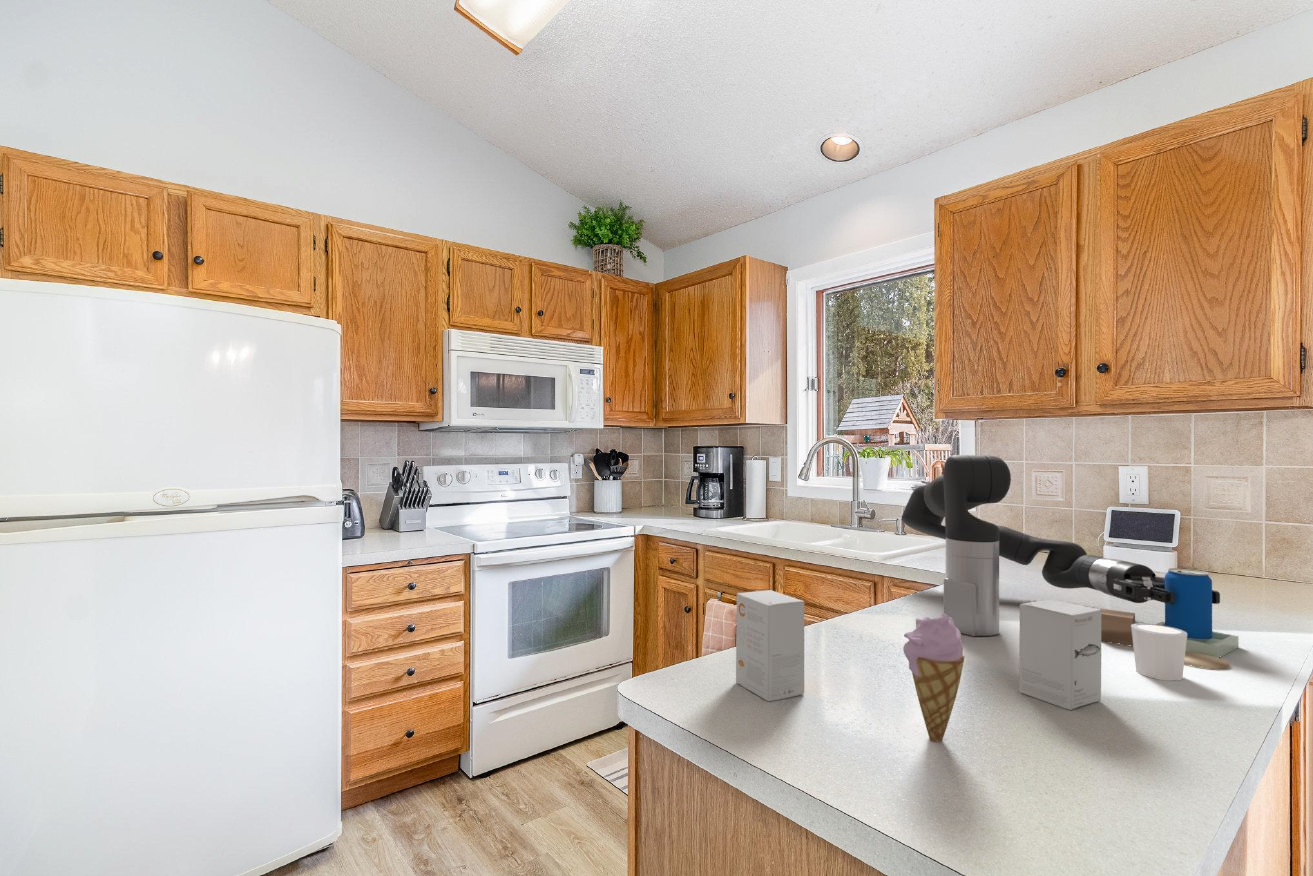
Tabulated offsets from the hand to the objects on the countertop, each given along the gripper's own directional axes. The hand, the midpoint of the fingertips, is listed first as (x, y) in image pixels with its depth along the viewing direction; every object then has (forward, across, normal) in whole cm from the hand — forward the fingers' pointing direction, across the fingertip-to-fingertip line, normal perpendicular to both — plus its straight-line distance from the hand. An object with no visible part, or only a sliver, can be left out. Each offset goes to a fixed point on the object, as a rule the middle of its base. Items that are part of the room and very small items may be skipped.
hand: (1195, 598), depth 112 cm
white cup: (+13, +18, -9) cm, 24 cm away
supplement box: (+21, +40, -9) cm, 46 cm away
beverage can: (-2, 0, -8) cm, 8 cm away
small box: (+16, +80, -9) cm, 82 cm away
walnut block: (-4, +11, -9) cm, 15 cm away
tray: (-2, 0, -9) cm, 9 cm away
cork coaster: (+7, +7, -9) cm, 13 cm away
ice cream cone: (+33, +65, -9) cm, 73 cm away
